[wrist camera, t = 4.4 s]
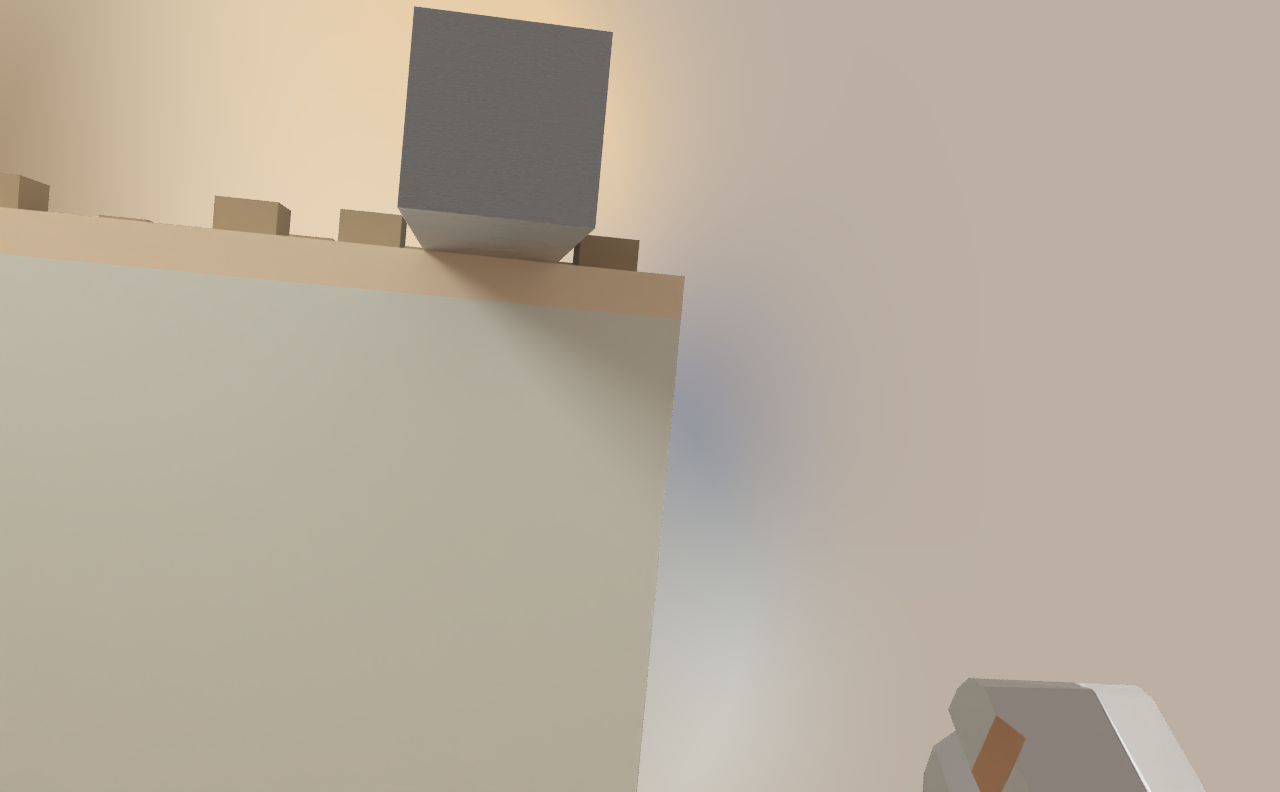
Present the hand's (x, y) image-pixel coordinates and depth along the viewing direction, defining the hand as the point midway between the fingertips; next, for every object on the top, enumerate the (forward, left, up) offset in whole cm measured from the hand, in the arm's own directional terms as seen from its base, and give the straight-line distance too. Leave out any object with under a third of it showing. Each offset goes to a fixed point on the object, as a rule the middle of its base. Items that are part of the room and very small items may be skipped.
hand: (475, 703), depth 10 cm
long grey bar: (+11, +20, +5) cm, 23 cm away
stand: (+10, +26, -21) cm, 35 cm away
